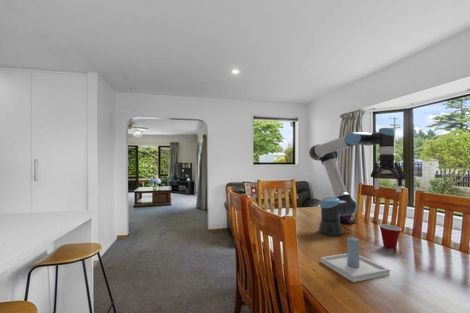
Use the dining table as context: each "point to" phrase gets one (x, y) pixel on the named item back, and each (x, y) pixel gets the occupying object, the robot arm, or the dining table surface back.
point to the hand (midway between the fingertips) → (387, 190)
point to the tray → (364, 271)
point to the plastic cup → (389, 235)
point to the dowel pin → (353, 252)
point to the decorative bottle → (347, 219)
